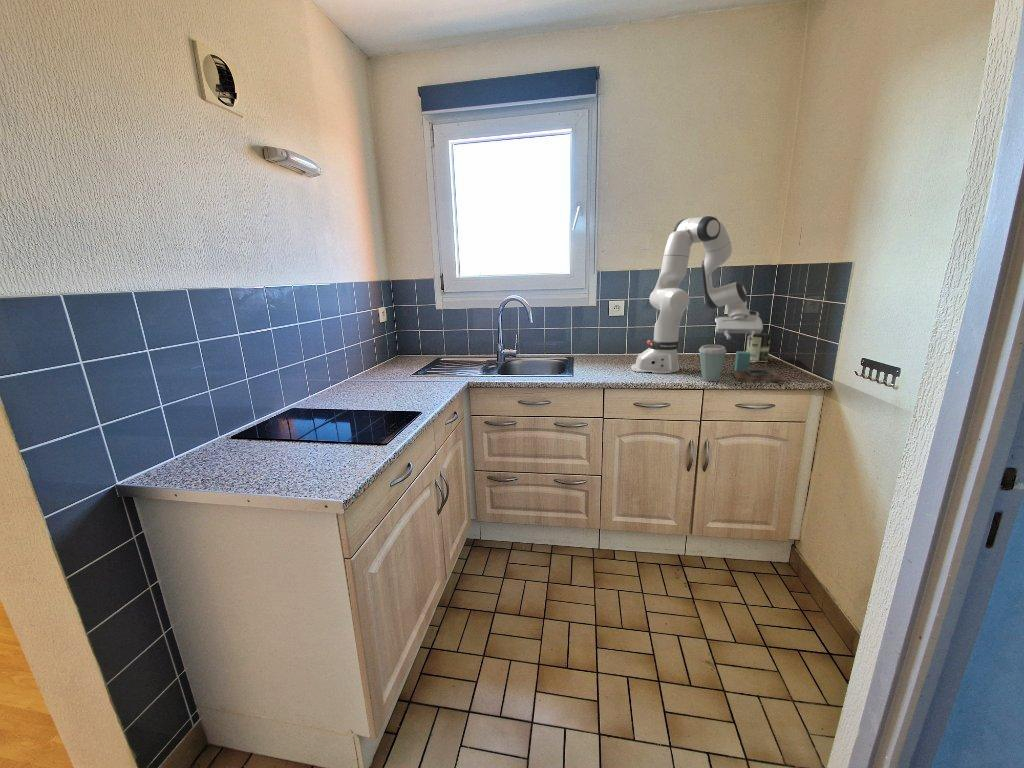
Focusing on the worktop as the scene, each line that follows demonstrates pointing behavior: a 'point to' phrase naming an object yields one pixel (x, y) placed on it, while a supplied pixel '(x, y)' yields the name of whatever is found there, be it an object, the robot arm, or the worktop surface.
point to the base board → (758, 375)
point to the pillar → (742, 361)
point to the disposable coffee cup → (712, 361)
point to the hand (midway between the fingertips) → (739, 339)
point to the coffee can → (759, 347)
